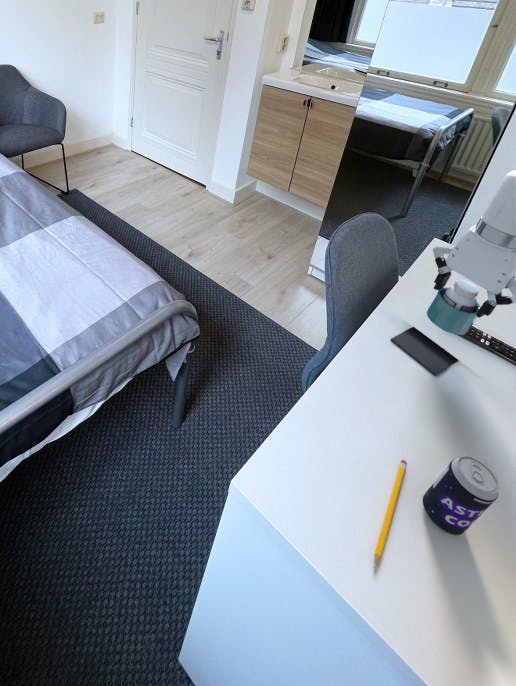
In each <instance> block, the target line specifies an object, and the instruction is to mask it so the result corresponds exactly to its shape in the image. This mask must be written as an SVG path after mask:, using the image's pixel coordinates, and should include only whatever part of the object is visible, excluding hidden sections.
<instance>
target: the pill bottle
mask: <svg viewBox="0 0 516 686" xmlns="http://www.w3.org/2000/svg"><path fill="white" fill-rule="evenodd" d="M447 288H448V289H447V290H446V292H445V293H444V295H443V297H442V298H443V299H444V300H445V301H446V302H447V303H448V304H449V305H451V306H452V307H454V308H456V309H459V310H461V311H464V312H468V313H472V311H473V309H474V308H475V306H476V304H477V302H478V299H477V297H478V295H479V293H480V289H479V288H478V287H477V286H476V285H475V284H474V283H473V282H471V281H469V280H464V279H457V280H456V281H455V282H454V284H453V286H449V287H447Z"/></svg>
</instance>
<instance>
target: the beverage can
mask: <svg viewBox="0 0 516 686" xmlns="http://www.w3.org/2000/svg"><path fill="white" fill-rule="evenodd" d="M499 490H500V483H499V479H498V478H497V476H496V475H495V473H494V472H493V471H492V470H491V469H490V468H489V467H488V465H486V464H485V463H484V462H482V461H481V460H479V459H477V458H475V457H472V456H469V455H462V456H459V457H455V458H452V460H451V461H450V462H449V463H448V465H447V466H446V467H445V468H444V469H443V470H442V472H441V473H440V474H439V475H438V477H437V478H436V480H435V481H434V482H433V483H432V485H430V486H429V488H428V489H427V490H426V491H425V493H424V494H423V496H422V506H423V509H424V511H425V513H426V514H427V516H428V517H429V519H430V521H432V522H433V523H434V525H436V526H437V527H438V528H439V529H440V530H442V531H444V532H445V533H448V534H449V535H453V536H461V535H463V534H464V533H465V532H466V531H467V530H468V529H469V528H470V527H471V526H472V525H473V524H474V523H475V522H476V521H477V520H478V519H479V518H480V517H481V515H483V514H484V513H485V512H486V511H487V509H489V508H490V506H491V505H492V504H494V502H496V500H497V499H498V498H499Z"/></svg>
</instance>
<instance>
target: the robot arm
mask: <svg viewBox="0 0 516 686" xmlns="http://www.w3.org/2000/svg"><path fill="white" fill-rule="evenodd" d="M432 252H433V256H434V258H435V259H434V262H435V265H436V266H437V273H438V274H437V276H436V277H435V278H434V280H433V283H434V286H433V289H434V290H435V291H438V290H439V289H441V288H445V287H446V285H447V283H448V281H449V279H450V278H451V276H452V271H454V272H455V273H457V274H459V275H461V276H462V277H464V278H465V279H467V280H468V281H469V282H471V283H473V284H474V285H475V284H476V285H477V286H479V287H480V288H483V290H485V291H486V293H487V299H486V300H485V301H483V303H482V305H480V307H481V308H480V309H479V311H478V312H477V314H476V315H477V319H481V318H482V317H484V316H486V317H489V316H490V315H491V314H492V313H493V312H494V310H495V309H496V307H497V306H506V305H507V306H508V305H511V304H516V170H512V171H509V172H508V173H507V174H506V175H505V176H504V177H503V179H502V181H501V182H500V184H499V185H498V187H497V189H496V191H495V193H494V194H493V196H492V198H491V199H490V201H489V203H488V205H487V207H486V208H485V210H484V211H483V214H482V215H481V216H480V218H479V220H478V222H477V224H475V225H472V226H471V227H470V228H469V229H468V230H467V231H465V232H464V234H463V235H462V236H461V238H460V239H459V240H458V242H457V243H456V244H455V246H436V247H434V248H432ZM445 255H448V256H447V258H445ZM504 289H506V290H508V289H509V291H510V294H512V295H506V296H505V295H503V290H504Z"/></svg>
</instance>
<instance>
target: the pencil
mask: <svg viewBox="0 0 516 686" xmlns="http://www.w3.org/2000/svg"><path fill="white" fill-rule="evenodd" d="M407 466H408V463H407V461H406V460H405V459H401V461H400V464H399V468H398V471H397V474H396V478H395V481H394V484H393V489H392V492H391V495H390V499H389V502H388V505H387V509H386V511H385V516H384V519H383V523H382V526H381V531H380V534H379V537H378V540H377V542H376V543H377V544H376V547H375V551H374V561H373V562H374V564H373V565H374V568H375V567H376V566H377V565H378V563H379V562H380V560H381V558H382V555H383V551H384V548H385V544H386V541H387V537H388V533H389V530H390V526H391V522H392V519H393V515H394V513H395V512H394V511H395V508H396V504H397V500H398V497H399V493H400V490H401V486H402V482H403V479H404V475H405V471H406V469H407Z"/></svg>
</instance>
